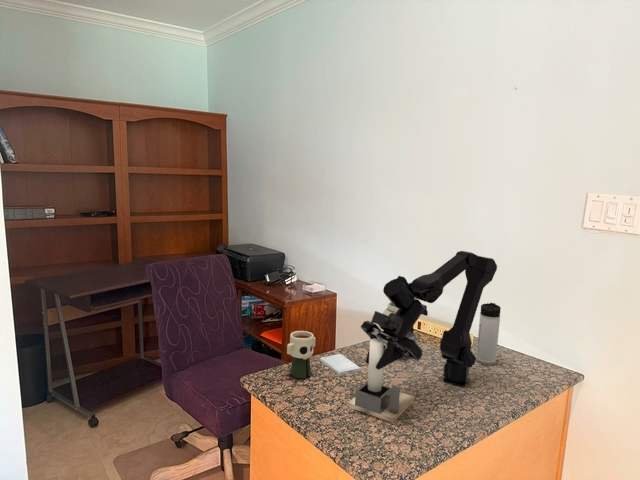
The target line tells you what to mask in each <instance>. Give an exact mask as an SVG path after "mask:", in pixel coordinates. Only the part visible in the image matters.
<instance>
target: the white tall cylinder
mask: <svg viewBox="0 0 640 480" xmlns="http://www.w3.org/2000/svg"><path fill="white" fill-rule="evenodd" d="M384 346H385V343H384V341H383V340H381V339H369V348H370V350H369V349H368V351H369V364H368V373H367V374H368V376H367V381H368V390H370V391H372V392H379V391H381V388H382V385H383V368H384V367H383V368H381V369H379V370H378V369H377V368H376V365H377V363H378V362H379V360H380V359H381V357H382V356H383V354H384V351H385V349H384Z"/></svg>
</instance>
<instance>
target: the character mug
mask: <svg viewBox="0 0 640 480" xmlns="http://www.w3.org/2000/svg"><path fill="white" fill-rule="evenodd" d="M314 347H316V337H315V336H314V333H312V332H309V331H308V330H307V331H305V330H295V331H293V332H291V333H290V336H289V343H288V344H287V345H286V354H287V355H290V356H291V357H292V361H291V367H290V376H293V377H295V378H297V379H306V378H307V376H308V378H309V377H310V376H311V375H312V372H311V371H312V370H311V369H312V368H311V361H310V359H311V357H312V356H313V354H314Z"/></svg>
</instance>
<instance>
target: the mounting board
mask: <svg viewBox="0 0 640 480" xmlns="http://www.w3.org/2000/svg"><path fill="white" fill-rule="evenodd" d="M414 401H415V396H413V395H410V394H407V393H404V392H401V391H400V397H399V412H398V413H397V414H393V413H390V412H389V407H390V405H389V406H388V407H387V408H386V409H385V410H384V411H383V412H382V413H381V414H379V413H376V412H373V411H370V410H367V409H364V408H361V407H358V406H355V396H354V397H353V398H352V399H351V400H349V401H347V407H348V408H350V409H353V410H354V411H355V410H356V411H357V412H361V413H363V414H367V415H370V416H371V417H372V416H373V417H375V418H378V419H381V420H385V421H387V422H389V423H393V424H394V422H396V421H397V420H398V418H400V416H401V415H402V414H403V413H404V412H405V411H406V410H407V409H408V408H409V406H410V405H411V404H412V403H413V402H414Z"/></svg>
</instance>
